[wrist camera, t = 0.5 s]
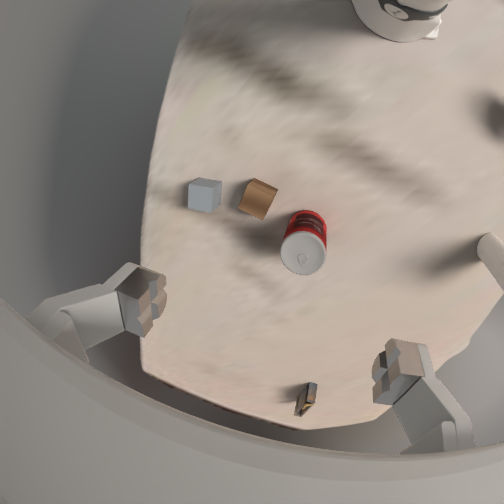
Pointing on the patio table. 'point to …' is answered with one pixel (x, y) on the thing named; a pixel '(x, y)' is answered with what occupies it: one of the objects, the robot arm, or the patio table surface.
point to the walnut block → (257, 198)
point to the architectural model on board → (305, 400)
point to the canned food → (304, 243)
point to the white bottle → (492, 256)
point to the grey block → (204, 194)
